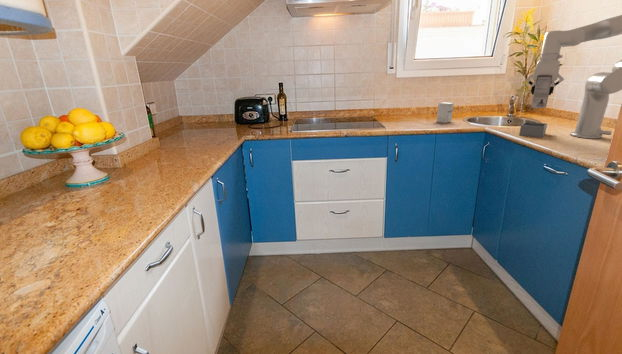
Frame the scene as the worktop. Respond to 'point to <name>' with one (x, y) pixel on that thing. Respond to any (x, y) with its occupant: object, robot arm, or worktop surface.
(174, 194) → the worktop surface
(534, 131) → the bin
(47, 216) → the worktop surface
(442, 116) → the supplement box
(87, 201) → the worktop surface
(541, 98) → the coffee box
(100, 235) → the worktop surface
